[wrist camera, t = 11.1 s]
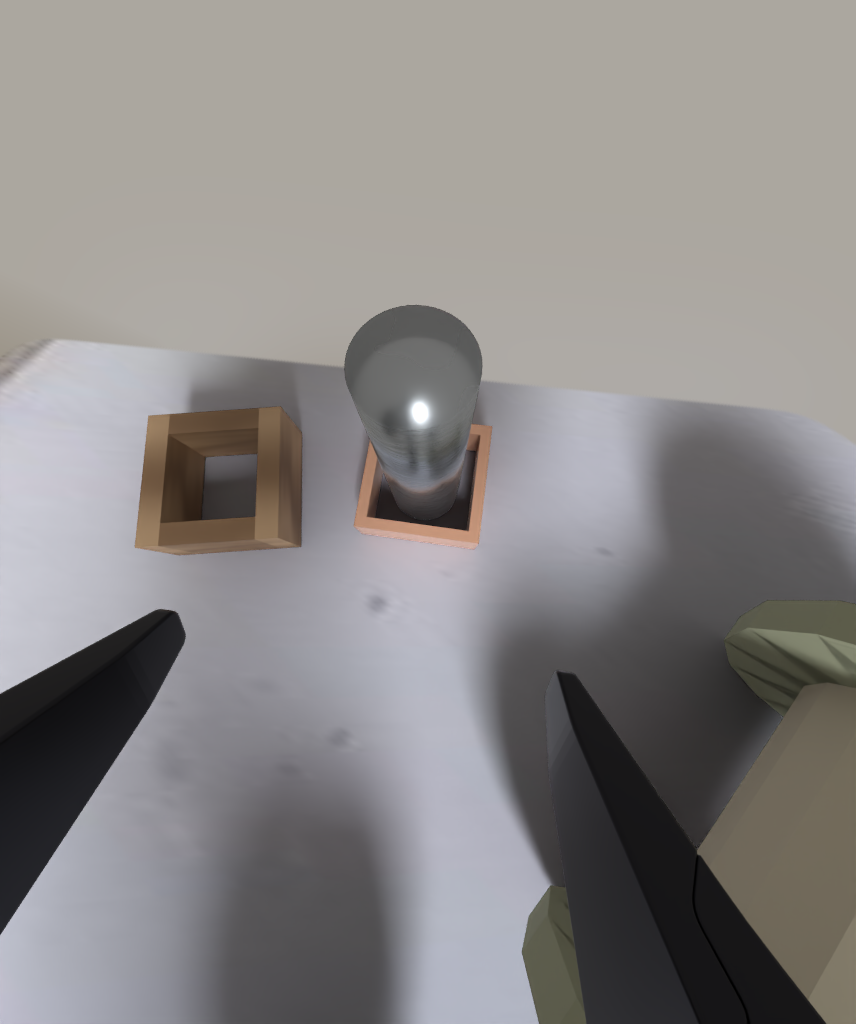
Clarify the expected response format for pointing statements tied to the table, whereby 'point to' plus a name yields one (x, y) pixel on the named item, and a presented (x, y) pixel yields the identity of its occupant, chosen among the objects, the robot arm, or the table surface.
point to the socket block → (418, 532)
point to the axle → (416, 401)
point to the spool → (768, 818)
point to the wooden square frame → (180, 477)
